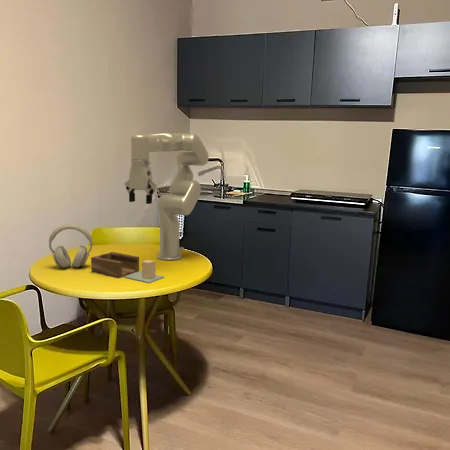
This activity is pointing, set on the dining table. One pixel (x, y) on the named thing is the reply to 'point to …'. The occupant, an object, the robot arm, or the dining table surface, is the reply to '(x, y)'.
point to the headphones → (61, 253)
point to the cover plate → (139, 277)
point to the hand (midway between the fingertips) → (140, 202)
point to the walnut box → (115, 264)
